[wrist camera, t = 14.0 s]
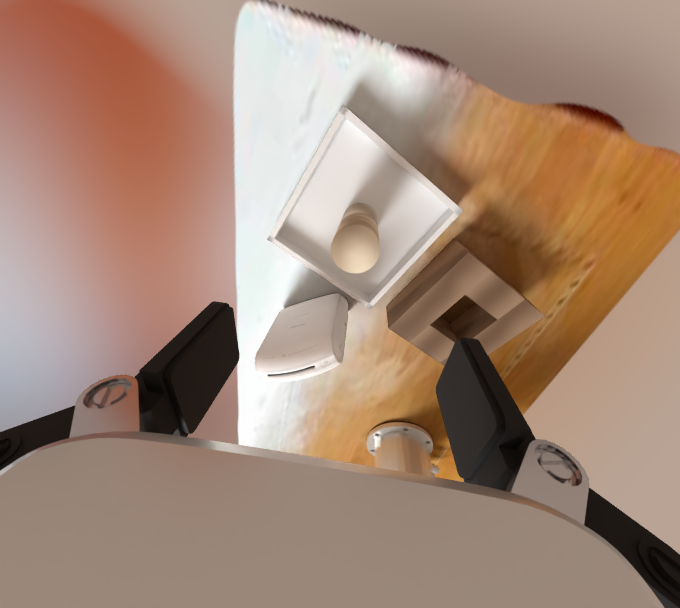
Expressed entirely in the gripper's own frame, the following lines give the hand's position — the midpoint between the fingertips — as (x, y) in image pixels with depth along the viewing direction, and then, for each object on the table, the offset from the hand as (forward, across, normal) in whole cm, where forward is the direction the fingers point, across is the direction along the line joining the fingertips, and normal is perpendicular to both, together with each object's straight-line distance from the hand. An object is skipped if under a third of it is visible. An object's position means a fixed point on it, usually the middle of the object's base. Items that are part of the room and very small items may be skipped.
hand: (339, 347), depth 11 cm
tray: (+22, 0, 0) cm, 22 cm away
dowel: (+22, 0, 0) cm, 22 cm away
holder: (+22, -13, +8) cm, 27 cm away
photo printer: (+22, +5, +13) cm, 26 cm away
